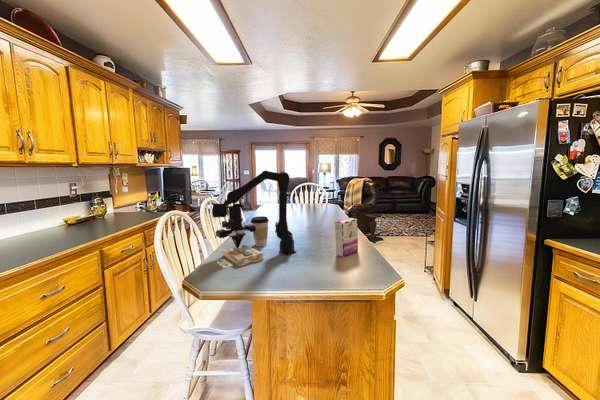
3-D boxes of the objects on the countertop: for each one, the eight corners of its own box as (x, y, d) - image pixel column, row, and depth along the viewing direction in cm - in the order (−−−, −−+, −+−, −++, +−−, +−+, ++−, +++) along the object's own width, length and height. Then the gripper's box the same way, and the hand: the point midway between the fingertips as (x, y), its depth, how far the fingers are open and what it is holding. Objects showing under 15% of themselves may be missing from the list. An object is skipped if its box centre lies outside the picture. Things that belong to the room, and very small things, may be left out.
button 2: (249, 254, 126) (249, 249, 126) (252, 256, 124) (252, 251, 124) (243, 256, 124) (243, 251, 124) (246, 258, 122) (246, 252, 122)
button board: (245, 250, 139) (245, 244, 139) (263, 259, 125) (263, 253, 125) (223, 255, 132) (222, 250, 132) (239, 266, 118) (238, 259, 118)
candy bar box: (350, 249, 135) (349, 217, 133) (358, 252, 132) (358, 218, 129) (335, 255, 128) (334, 221, 126) (343, 257, 124) (342, 222, 122)
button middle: (244, 252, 131) (243, 247, 130) (246, 253, 128) (246, 248, 128) (238, 253, 129) (237, 248, 128) (241, 255, 126) (240, 249, 126)
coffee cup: (255, 242, 154) (253, 216, 152) (271, 242, 153) (270, 216, 151) (249, 247, 145) (247, 219, 143) (267, 247, 143) (266, 219, 141)
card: (224, 259, 127) (224, 258, 127) (233, 265, 119) (233, 264, 119) (215, 262, 124) (214, 260, 124) (223, 268, 116) (223, 267, 116)
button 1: (239, 251, 135) (238, 246, 135) (241, 252, 133) (241, 247, 132) (233, 252, 133) (233, 247, 133) (236, 254, 131) (235, 249, 131)
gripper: (245, 212, 143) (247, 240, 145) (210, 217, 131) (212, 248, 133) (255, 214, 134) (257, 245, 136) (219, 220, 123) (221, 253, 125)
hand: (237, 247), depth 133 cm, fingers closed, pressing on button 1
